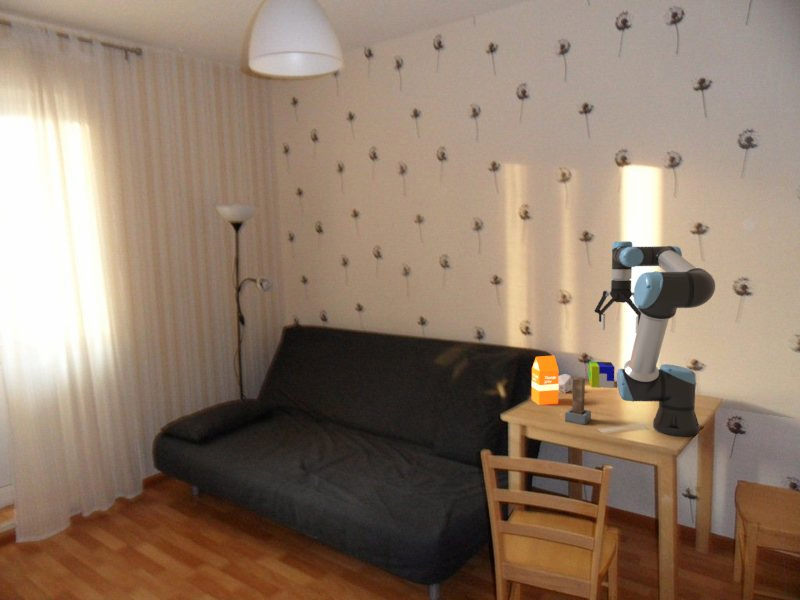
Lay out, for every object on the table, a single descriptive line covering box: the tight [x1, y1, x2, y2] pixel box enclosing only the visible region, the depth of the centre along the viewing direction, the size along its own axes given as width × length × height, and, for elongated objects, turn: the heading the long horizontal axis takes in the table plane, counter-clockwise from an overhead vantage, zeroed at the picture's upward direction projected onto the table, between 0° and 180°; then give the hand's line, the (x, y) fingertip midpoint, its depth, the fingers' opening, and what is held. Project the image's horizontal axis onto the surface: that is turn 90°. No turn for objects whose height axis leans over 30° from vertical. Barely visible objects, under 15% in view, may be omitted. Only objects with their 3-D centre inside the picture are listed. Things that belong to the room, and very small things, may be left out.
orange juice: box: [531, 355, 560, 406], centre depth 240 cm, size 8×9×20 cm
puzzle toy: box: [588, 361, 615, 389], centre depth 266 cm, size 10×10×10 cm
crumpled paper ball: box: [558, 373, 574, 394], centre depth 256 cm, size 8×9×10 cm
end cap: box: [564, 407, 592, 426], centre depth 216 cm, size 8×8×4 cm
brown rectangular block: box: [571, 377, 586, 415], centre depth 216 cm, size 4×4×16 cm
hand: (619, 331), depth 230 cm, fingers open, 13 cm apart
